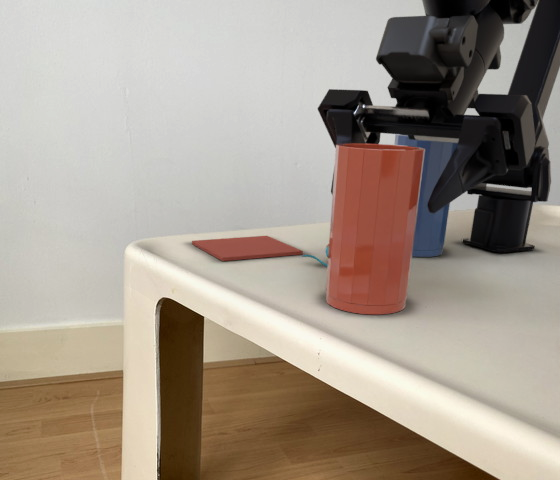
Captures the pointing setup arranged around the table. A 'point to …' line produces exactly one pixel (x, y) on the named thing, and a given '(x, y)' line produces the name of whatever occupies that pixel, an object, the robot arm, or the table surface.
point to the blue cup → (429, 224)
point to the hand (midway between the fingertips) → (379, 202)
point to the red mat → (246, 248)
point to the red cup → (373, 226)
